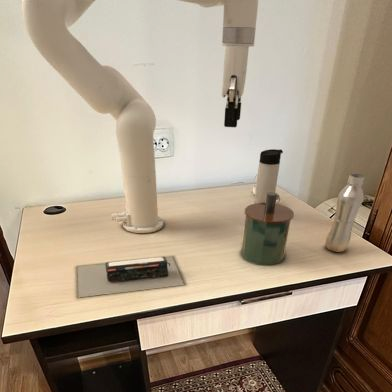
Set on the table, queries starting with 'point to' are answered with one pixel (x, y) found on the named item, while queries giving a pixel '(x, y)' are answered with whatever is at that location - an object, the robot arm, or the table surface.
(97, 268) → the grey board with block
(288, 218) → the lid
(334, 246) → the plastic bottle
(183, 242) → the table surface
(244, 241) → the green ceramic cup
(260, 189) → the travel mug
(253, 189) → the woman figurine
